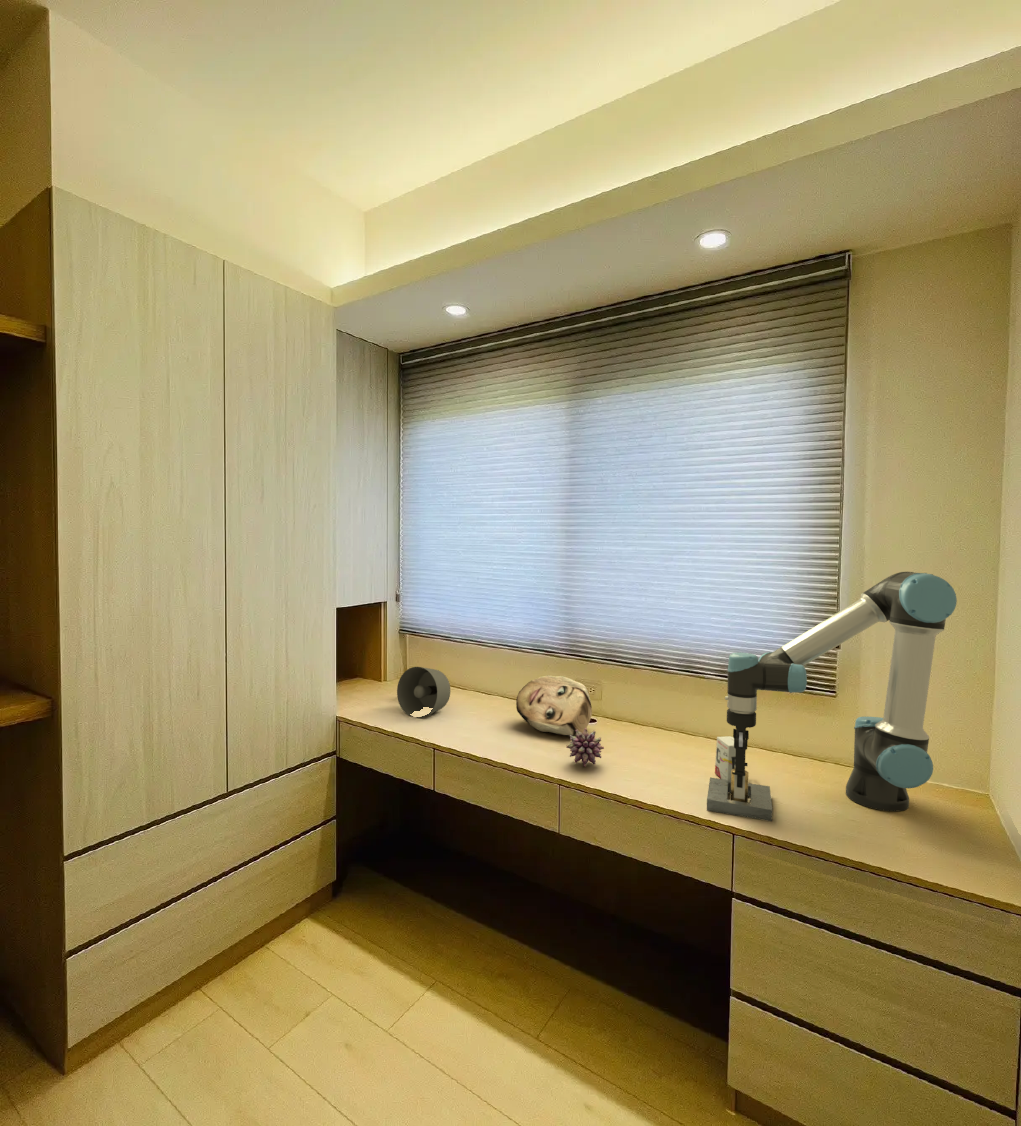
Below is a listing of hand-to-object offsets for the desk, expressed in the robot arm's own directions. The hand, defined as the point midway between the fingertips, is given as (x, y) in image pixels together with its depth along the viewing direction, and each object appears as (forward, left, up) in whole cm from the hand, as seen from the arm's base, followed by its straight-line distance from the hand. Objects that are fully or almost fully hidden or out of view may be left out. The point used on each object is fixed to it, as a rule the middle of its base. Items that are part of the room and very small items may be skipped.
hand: (739, 793), depth 161 cm
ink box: (+3, -17, -3) cm, 18 cm away
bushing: (0, 0, -3) cm, 3 cm away
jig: (0, 0, -3) cm, 3 cm away
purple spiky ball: (+46, -10, -3) cm, 47 cm away
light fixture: (+123, -46, -3) cm, 132 cm away
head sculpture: (+67, -40, -3) cm, 78 cm away
